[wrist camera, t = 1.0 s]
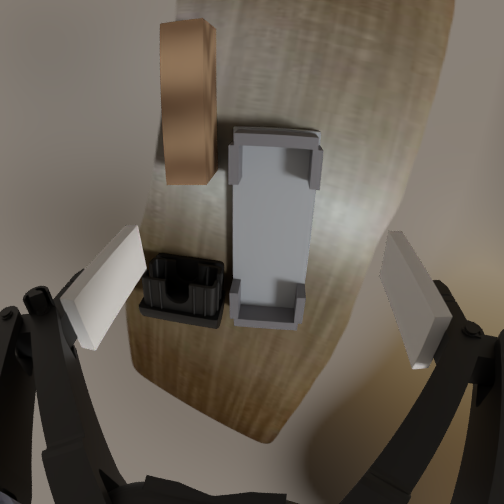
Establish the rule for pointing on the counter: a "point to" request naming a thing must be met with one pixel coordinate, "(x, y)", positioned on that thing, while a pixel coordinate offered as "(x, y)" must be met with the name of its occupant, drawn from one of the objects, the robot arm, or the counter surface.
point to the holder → (272, 222)
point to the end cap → (184, 290)
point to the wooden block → (189, 101)
